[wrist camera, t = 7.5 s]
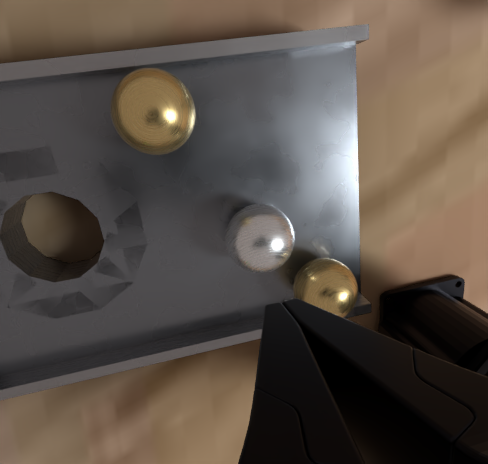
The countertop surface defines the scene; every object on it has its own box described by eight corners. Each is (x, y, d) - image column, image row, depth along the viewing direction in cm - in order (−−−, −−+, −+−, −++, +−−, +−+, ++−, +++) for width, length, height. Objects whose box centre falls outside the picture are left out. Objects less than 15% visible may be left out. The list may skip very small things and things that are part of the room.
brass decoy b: (185, 69, 16) (189, 56, 12) (198, 145, 17) (205, 151, 13) (108, 78, 15) (91, 67, 12) (127, 156, 16) (116, 165, 13)
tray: (332, 41, 19) (368, 24, 15) (342, 284, 24) (371, 312, 20) (-120, 93, 16) (-202, 85, 12) (1, 360, 21) (-34, 408, 17)
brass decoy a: (338, 243, 20) (370, 267, 17) (340, 295, 21) (371, 326, 18) (282, 255, 19) (304, 281, 16) (287, 307, 20) (309, 341, 17)
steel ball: (298, 193, 17) (317, 256, 16) (264, 225, 20) (278, 282, 18) (237, 187, 16) (252, 256, 14) (210, 222, 18) (220, 284, 17)
